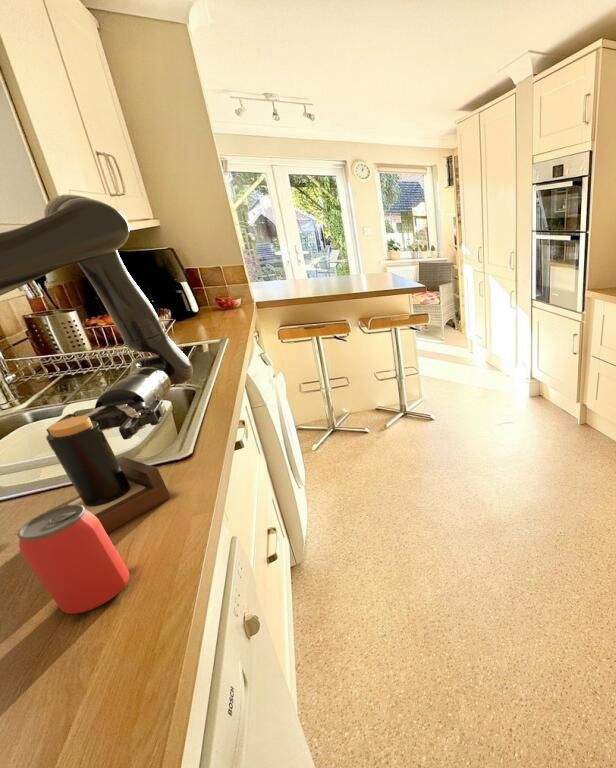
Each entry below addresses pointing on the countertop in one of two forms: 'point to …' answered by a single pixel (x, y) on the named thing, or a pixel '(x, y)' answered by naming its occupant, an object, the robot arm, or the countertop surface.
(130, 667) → the countertop surface
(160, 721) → the countertop surface
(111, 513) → the brown wooden stand
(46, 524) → the beer can
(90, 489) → the black canister
